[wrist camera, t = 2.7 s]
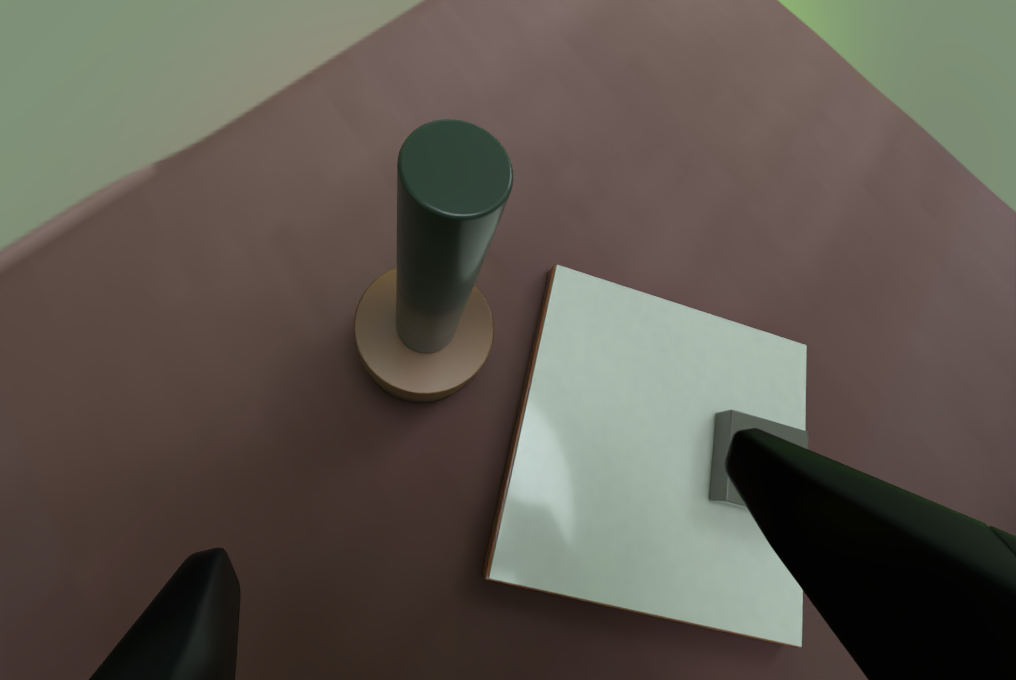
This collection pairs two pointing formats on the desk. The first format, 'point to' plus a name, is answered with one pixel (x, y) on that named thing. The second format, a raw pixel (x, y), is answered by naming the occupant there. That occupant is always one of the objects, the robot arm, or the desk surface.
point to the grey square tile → (723, 433)
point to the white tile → (643, 461)
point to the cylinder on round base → (436, 265)
